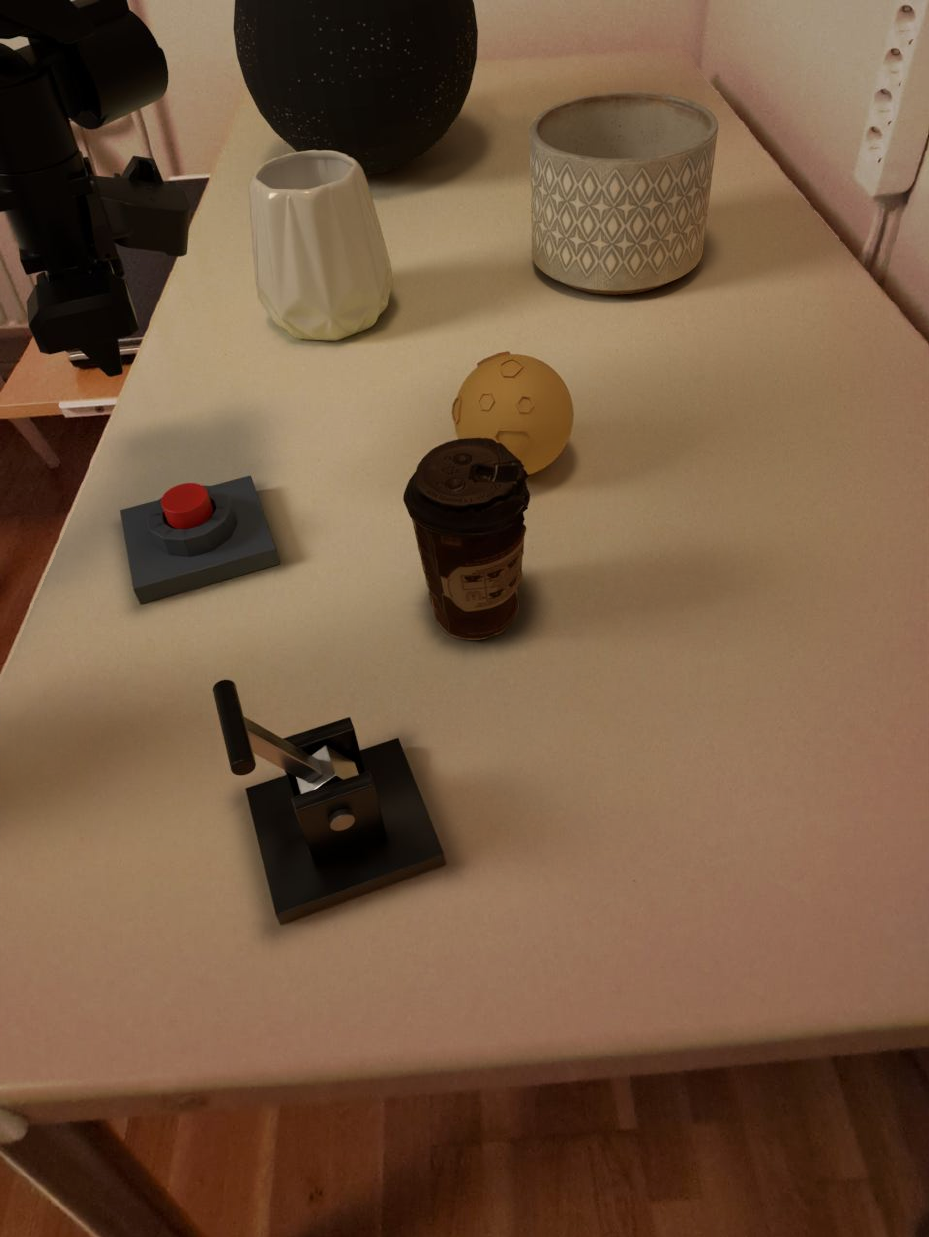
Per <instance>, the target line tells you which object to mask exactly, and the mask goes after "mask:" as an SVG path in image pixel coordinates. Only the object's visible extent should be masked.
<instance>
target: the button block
mask: <svg viewBox="0 0 929 1237" xmlns="http://www.w3.org/2000/svg"><path fill="white" fill-rule="evenodd" d="M201 485H202V486H203V487H205V488H206V490H207V492H208V495H209V498H210V501H211V504H212V507H213V513H212V516H211V517H210V519H209V520H208V521H206V522H205V523H203V524H202V525H200V526H197V527H193V528H190V529H177V528H174V527H172V526H171V525H170V524H169V523H168V521H167V518H166V516H165V513H164V511H163V508H162V505H161V499H162V497H160V498H159V499H156V500H153V501H149V502H145V503H142V504H138V505H135V506H130V507H127V508H123V509H120V510H119V514H120V519H121V526H122V531H123V532H122V533H123V537H124V543H125V548H126V554H127V560H128V567H129V571H130V578H131V584H132V590H133V592H134V594H135V596H136V598H137V600H138V603H139V605H142V604H145V603H149V602H153V601H156V600H161V599H162V598H163V599H164V598H166V597H170V596H173V595H178V594H180V593H184V592H188V591H191V590H194V589H198V588H201V587H205V586H208V585H212V584H215V583H219V582H222V581H227V580H230V579H233V578H236V577H240V576H244V575H246V574H250V573H254V572H258V571H260V570H264V569H268V568H271V567H274V566H278V565H281V562H280V558H279V555H278V554H279V553H278V550H277V547H276V544H275V542H274V538H273V536H272V533H271V529H270V527H269V524H268V521H267V518H266V515H265V513H264V510H263V505H262V503H261V501H260V497H259V494H258V492H257V489H256V485H255V483H254V480H253V477H252V475H251V474H250V475H246V476H243V477H239V478H236V479H232V480H227V481H224V482H221V483H216V484H213V485H203V484H201Z"/></svg>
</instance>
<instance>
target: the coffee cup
mask: <svg viewBox="0 0 929 1237" xmlns="http://www.w3.org/2000/svg"><path fill="white" fill-rule="evenodd" d="M527 478H529V475H528V474H527V472H526V470H525V469H524V465H523V464H522V463H521V461H520V460H519V459H518V458H516V457H515V456H514V455H513V454H512V453H511V452H510V451H508V449H507V448H506V447H505V446H504V445H502V444H501V443H497V442H496V441H494V440H493V439H490V438H465V439H458V438H456V439H454V440H449V441H446V442H443V443H442V444H440V445H437V446H436V447H434V448H432V449H431V450H429V451H428V452H427V454H425V455H424V456H423V457H422V458H421V460H420V461H419V463H418V464H417V466H416V469H415V472H414V473H413V474H412V476H411V477H410V478H409V480H408V482H407V484H406V487H405V489H404V492H403V497H402V501H403V503H404V506H405V508H406V510H407V513H408V516H409V517H410V518H411V522H412V526H413V529H414V535H415V536H414V537H415V539H416V543H417V551H418V553H419V557H420V562H421V567H422V571H423V573H424V577H425V584H426V587H427V588H428V597H429V601H430V605H431V606H432V611H433V614H434V617H435V620H436V622H437V624H438V625H439V626H440V628H441V629H442V630H443V631H444V632H446V633H447V635H449V636H451V637H453V638H458V639H462V640H467V641H478V640H485V639H488V638H491V637H493V636H496V635H499V634H501V633H503V632H504V631H506V629H508V627H510V626H511V625H512V623H513V622H514V620H515V619H516V616H517V613H518V611H519V608H520V602H519V599H518V592H517V591H518V590H519V587H520V585H521V582H522V580H523V556H524V553H525V552H524V548H525V536H526V532H527V526H526V525H525V524H524V523H525V520H526V518H525V515H524V513H525V512H526V511H527V510H528V509H529V504H530V502H531V501H530V500H531V493H530V491H529V488H528V485H527V481H526V480H527Z"/></svg>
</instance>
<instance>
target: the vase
mask: <svg viewBox="0 0 929 1237" xmlns="http://www.w3.org/2000/svg"><path fill="white" fill-rule="evenodd" d="M248 185H249V186H248V200H249V214H250V215H249V217H250V230H251V245H252V257H253V258H252V259H253V267H254V268H253V270H254V278H255V287H256V292H257V300H258V301H259V303H260V304H261V306H262V307H263V309H264V310H265V311H266V312H267V314H268V315H270V317H271V320H272V321H273V322H274V323H275V324H276V325H277V326H278V327H280V328H281V329H283V330H285V331H287V332H288V333H289V335H291V336H292V337H294V338H296V339H299V340H311V341H328V342H329V341H330V342H331V341H332V342H333V341H335V342H336V341H339V340H342V339H346V338H348V337H351V336H353V335H355V334H359V333H361V332H363V331H365V330H368V329H371V328H372V327H373V326H374V325H375V324H376V323H377V321H378V319H379V316H380V315H381V314H382V313H383V312H384V311H385V310H386V309H387V307H388V306H389V299H390V293H391V290H392V288H393V287H392V286H393V282H394V279H393V278H394V277H393V269H392V264H391V260H390V256H389V252H388V249H387V244H386V241H385V238H384V233H383V230H382V227H381V223H380V220H379V216H378V213H377V209H376V206H375V203H374V200H373V196H372V193H371V190H370V186H369V182H368V180H367V177H366V174H364V171H363V169H362V167H361V166H360V164H359V163H358V162H357V161H356V160H355V159H354V158H352V157H349V156H348V155H347V154H344V153H340V152H337V151H329V150H322V151H318V150H309V151H302V152H297V151H295V152H288V153H286V154H284V155H279V156H276V157H274V158H271V159H269V160H266V161H265V162H264V163H263V164H261V165H260V166H258V167H257V170H255V171H254V173H253V174H252V176H251V178H250V180H249V184H248Z"/></svg>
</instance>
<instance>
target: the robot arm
mask: <svg viewBox="0 0 929 1237" xmlns="http://www.w3.org/2000/svg"><path fill="white" fill-rule="evenodd" d="M129 6H130V5H129V3H128V0H0V40H12V39H15V38H19V37H20V38H26V39H27V41H28V44H27V45H24V46H22V47H19V48H16V49H13V47H11V46H9V45H7V44H5V43H2V42H0V213H2V212H4V214H5V216H6V219H7V221H8V223H9V226H10V228H11V231H12V233H13V235H14V238H15V240H16V242H17V245H18V246H19V247H18V251H19V261H20V264H21V266H22V268H23V271H24V272H25V275H27V276H29V275H33V274H36V276H35V280H36V284H35V285H34V286H33V288H32V291H31V292H30V294H29V296H28V297H27V300H26V313H27V325H28V328H29V331H30V333H31V335H32V337H33V340H34V341H35V343H36V346H37V348H38V351H39V353H41V354H46V355H49V356H50V355H55V354H58V353H63V352H67V351H72V350H76V349H78V351H80V352H81V353H83V355H85V356H86V358H88V359H89V361H91V362H92V363H93V364H94V365H95V366H96V367H97V368H99V369H100V370H101V372H103V373H104V374H105V375H106V376H107V377H109V378H114V377H117V376H121V375H123V372H124V370H123V361H122V356H121V348H120V342H119V339H123V338H128V337H131V336H133V335H134V334H136V333H137V332H138V331H140V326H139V321H138V318H137V314H136V311H135V308H134V303H133V300H132V297H131V292H130V289H129V285H128V281H127V280H125V278H124V276H125V273H126V272H125V269H124V264H123V260H122V258H121V257H120V252H119V249H118V247H117V245H118V246H119V247H123V248H127V249H133V250H141V251H150V252H158V253H165V255H166V256H168V257H174V258H175V257H176V258H177V257H179V258H180V257H184V256H186V255H187V254H188V247H189V246H188V245H189V235H190V234H189V232H190V220H191V219H190V218H191V205H190V202H189V201H188V198H187V195H186V193H185V191H184V190H183V189H182V188H181V187H178V186H177V185H176V182H175V181H172V180H169V181H168V183H165V181H164V179H163V177H162V174H161V172H160V169H159V167H158V165H157V163H156V160H155V159H154V158H151V157H145V156H140V155H133V156H131V158H130V160H129V162H128V163H127V165H126V166H125V168H124V170H123V171H122V173H118V172H114V173H113V176H112V177H111V176H105V175H95V172H94V169H93V166H92V164H91V160H90V157H89V156H84V154H83V152H82V150H80V147H79V144H78V142H77V139H76V136H75V133H74V129H73V127H72V124H71V122H73V123H74V124H76V125H77V126H78V127H79V126H80V127H81V128H83V129H85V130H89V131H92V130H97V129H100V128H102V127H104V126H106V125H108V124H110V123H113V122H115V121H118V120H119V119H122V118H124V117H125V116H128V115H129V114H132V113H133V112H136V111H138V110H141V109H143V108H145V107H147V106H149V105H151V104H153V103H155V102H158V101H159V100H161V99H162V98H164V96H165V94H166V92H167V90H168V86H169V67H168V62H167V58H166V54H165V52H164V50H163V48H162V47H161V46H159V44H158V42H157V40H156V37H155V36H154V34H153V33H152V31H151V30H150V28H149V27H148V26H147V24H146V23H145V22H144V21H143V19H141V17H140V16H139V15H137V14H136V13H135V12H134V11H133V10H131V9H130V7H129Z"/></svg>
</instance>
